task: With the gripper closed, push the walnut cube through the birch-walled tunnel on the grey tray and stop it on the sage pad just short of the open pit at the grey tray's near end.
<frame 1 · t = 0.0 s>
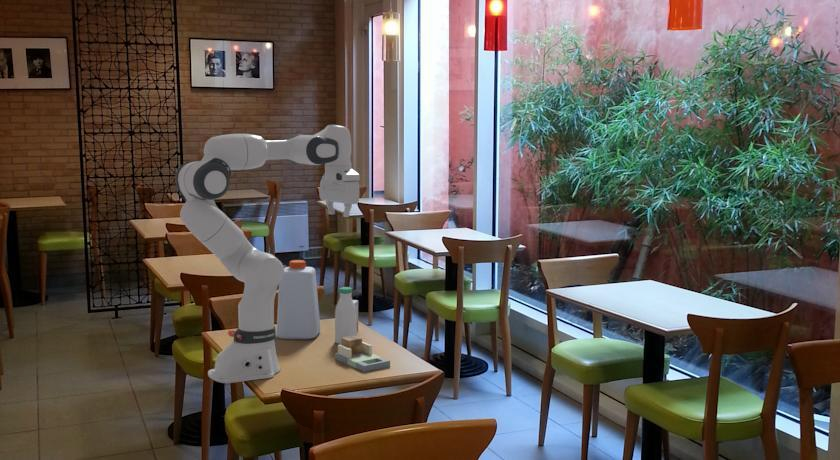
hand: (338, 215, 278), 48 cm above the table, tool pointing down, fingers open, 8 cm apart
grey tray: (362, 362, 276), on the table
plastic bottle: (298, 335, 311), on the table
skincare box: (351, 332, 315), on the table
block: (351, 352, 281), point 2 cm above the table, touching grey tray
milk bottle: (345, 342, 301), on the table
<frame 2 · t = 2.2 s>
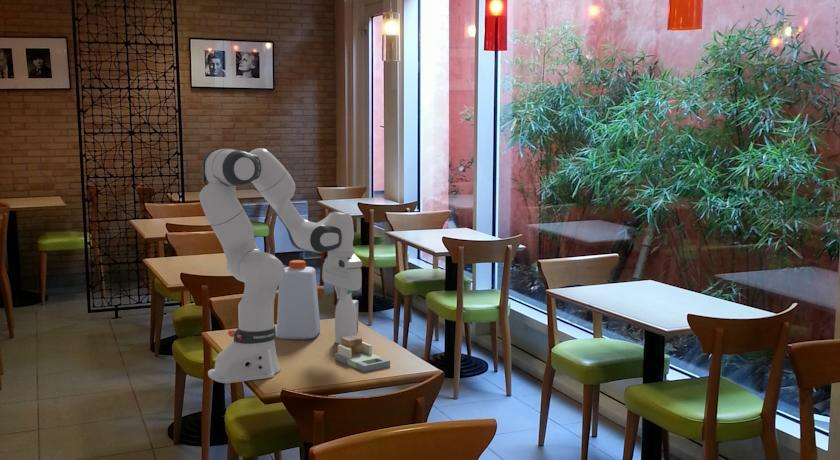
hand: (341, 299, 284), 19 cm above the table, tool pointing down, fingers closed
nothing on the table moved.
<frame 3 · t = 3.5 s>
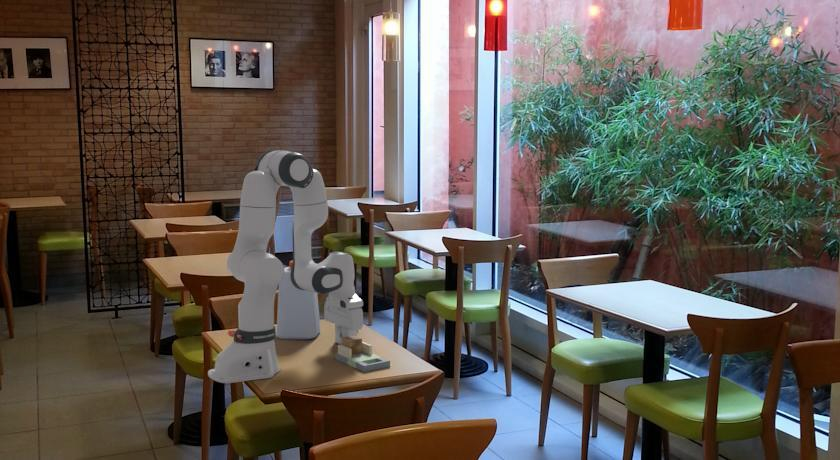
hand: (343, 338, 286), 5 cm above the table, tool pointing down, fingers closed
nothing on the table moved.
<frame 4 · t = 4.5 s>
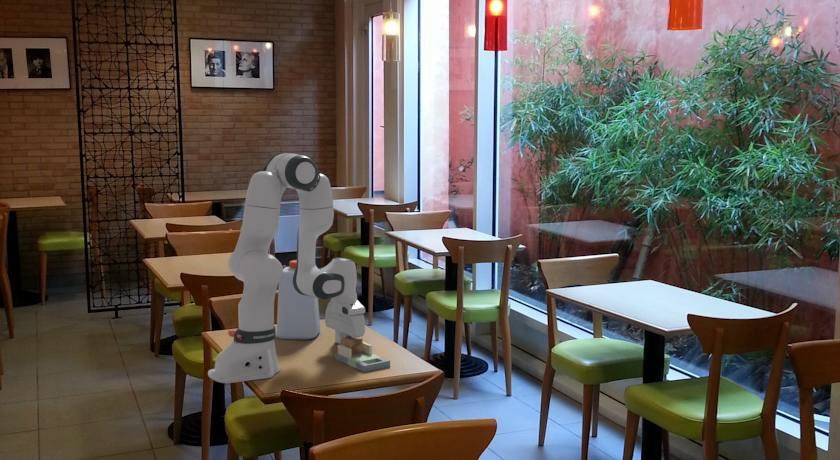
hand: (344, 344, 284), 4 cm above the table, tool pointing down, fingers closed
block: (352, 352, 281), point 2 cm above the table, touching grey tray, gripper
everything else where it was.
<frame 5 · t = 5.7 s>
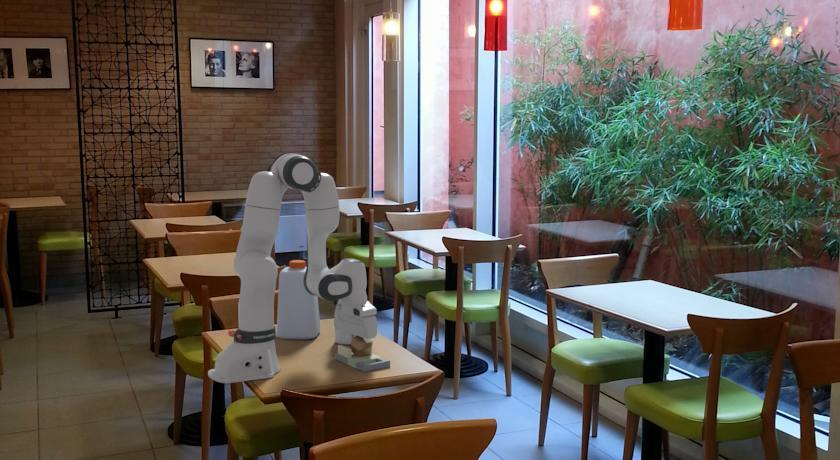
hand: (355, 346, 280), 4 cm above the table, tool pointing down, fingers closed, pressing on block
block: (359, 352, 278), point 3 cm above the table, tilted 17°, touching grey tray, gripper
everything else where it was.
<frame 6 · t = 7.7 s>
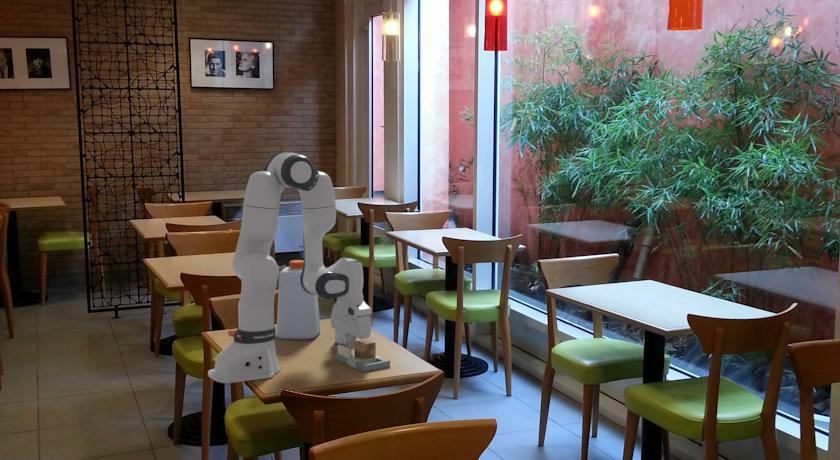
hand: (349, 346, 281), 4 cm above the table, tool pointing down, fingers closed
block: (365, 356, 276), point 2 cm above the table, touching grey tray
everything else where it was.
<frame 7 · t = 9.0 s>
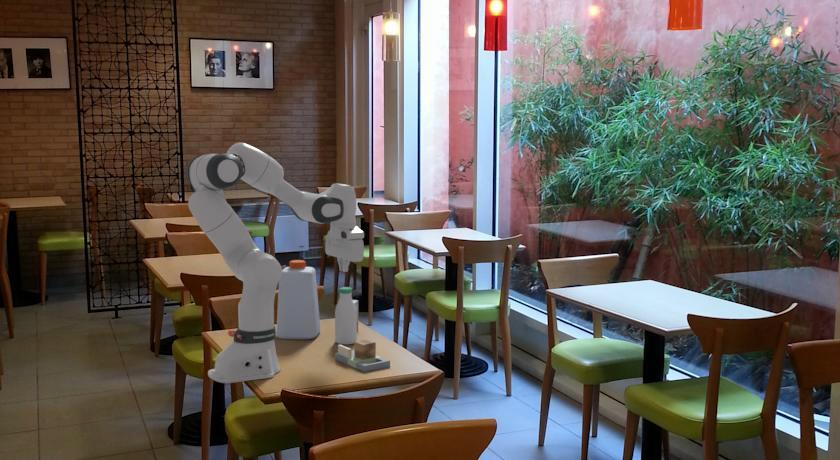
hand: (343, 271, 285), 28 cm above the table, tool pointing down, fingers closed
nothing on the table moved.
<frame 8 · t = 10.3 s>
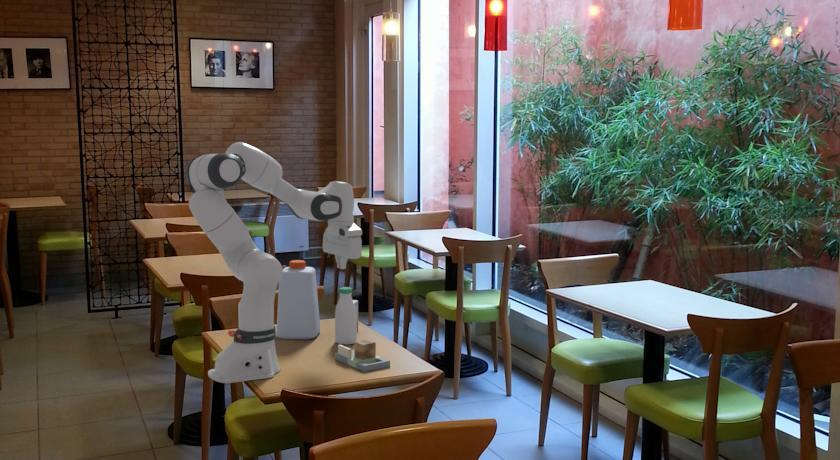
hand: (341, 268, 286), 29 cm above the table, tool pointing down, fingers closed
nothing on the table moved.
at the end: block 1.5 cm from the target spot on the grey tray, point 2.0 cm above the grey tray's base; block tilted 0° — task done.
